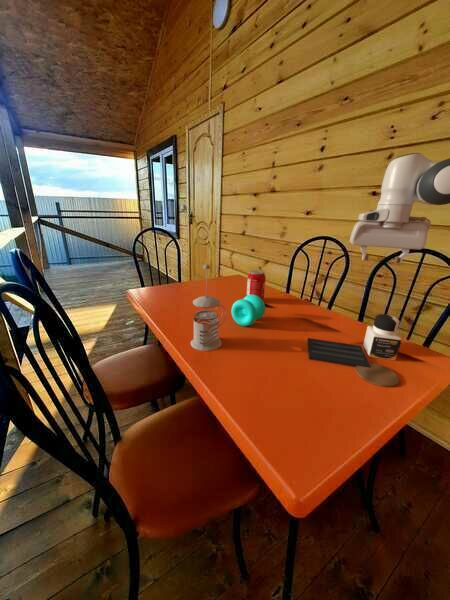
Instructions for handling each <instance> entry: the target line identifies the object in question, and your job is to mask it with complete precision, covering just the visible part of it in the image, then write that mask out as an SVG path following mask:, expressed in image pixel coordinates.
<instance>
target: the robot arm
mask: <svg viewBox="0 0 450 600" xmlns="http://www.w3.org/2000/svg"><path fill="white" fill-rule="evenodd" d="M380 192H381V193H380V199H379V200H378V202H377V206H376V208H375V209H372V210H369V211H365V212H361V213H359V214H358V217H357V218H358V221H357V222H355V224H354V225H353V228H352V230H351V233H350V237H349V243H350V244H351V246H360V247H359V249H360V252H361V254H362V256H361V261H364V262H365V261H366V262H368V261H369V257H370V254H367V253H366V250H367V247H372V248H373V247H375V248H389V249H390V248H391V249H401V252H402V253H400V255H399V256H395V257H394V258H395V259H394V263H395V264H402V263H403V259H404V258H405V257H406V256H407V255H409V253H410V250H419V251H420V250H422V249H424V248H425V247H426V244H427V239H428V232H429V230H430V229H431V225H432V222H431V219H429V218H427V217H426V216H411V213H412V210H413V206H414V203H415V202H417V203H421V204H424V205H428V206H433V205H434V206H444V205H448V204H450V157H449V158H447V159H443V160H441V161H438V162H435V161H433V160H431V159H429V158H428V157H426V156H425V155H424V154H423V153H422V152H411V153H407V154H406V153H405V154H401V155H400V156H397V157H395V158H394V159H392V160H391V161H390V162H389V163H388V165H387V168H386V169H385V172H384V176H383V179H382V183H381V187H380Z"/></svg>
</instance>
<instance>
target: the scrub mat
mask: <svg viewBox="0 0 450 600" xmlns="http://www.w3.org/2000/svg"><path fill="white" fill-rule="evenodd" d="M307 349H308V351H307V352H308V353H307V354H308V359H309V360H313V361H319V362H324V363H331V364H336V365H342V366H349V367H353V368H356V366H363V367H369V368H370V367H371V366H370V364H369V363H370V362H369V360H368V358H367V355H366V353H365V352H364V349H363V346H362V345H358V344H351V343H345V342H337V341H332V340H325V339H324V340H323V339H318V338H310V337H308V338H307Z"/></svg>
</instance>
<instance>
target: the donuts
mask: <svg viewBox="0 0 450 600" xmlns="http://www.w3.org/2000/svg"><path fill="white" fill-rule="evenodd" d="M230 311H231V312H230V313H231V316H232V319H233V320H234V322H235V323H236V324H238V325H239V326H242V327H250V326H252V325H253V324H254V323H255V322H256V321H257V320H261V319H262V318H263V316H264V315H265V313H266V305H265V302H263V300H262V299H261V298H260V297H258V296H256V295H248V296H246V295H245V297H243V298H241V299H237V300H236V301H234V303H233V304H232V305H231V310H230Z"/></svg>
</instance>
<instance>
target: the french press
mask: <svg viewBox="0 0 450 600" xmlns="http://www.w3.org/2000/svg"><path fill="white" fill-rule="evenodd" d="M202 269H204V270H205V271H206V272H205V273H206V274H205V293H206V294H205V295H202V296H199V297H197V298H195V299H193V300H192V304H193V305H194V307H197V308H201V309H203V310H198V311H196V312H195V313H194V318H193V339H192V340H191V341H190V346H191V347H192V348H193V349H195V350H197V351H201V352H210V351H215V350H217V349H219V348H220V347H221V346H222V341H221V339H220V338H219V330H220V327H221V326H222V325H223V324H224V322H225V320H226V317H227V311H226V308H225V306H223V305H222V304H221V301H220V300H219V299H217V298H216V297H214V296H211V295H208V270H210V269H211V266H210V265H209V264H208V263H207V264H206V263H205V264H204V265H203V266H202ZM212 308H215V309H216V310H219V309H220V308H221V316H220V318H219V317H218V316H219V313H218V312H217V311H214V310H212ZM204 309H205V310H204ZM208 309H211V310H208ZM223 316H224V318H223ZM222 318H223V321H222ZM221 321H222V322H221ZM220 322H221V323H220Z"/></svg>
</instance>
